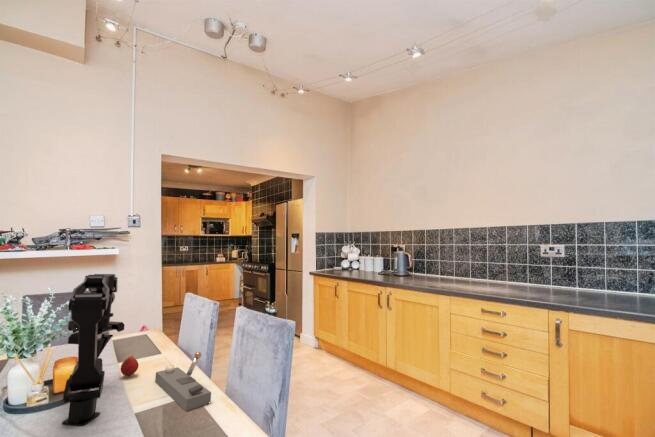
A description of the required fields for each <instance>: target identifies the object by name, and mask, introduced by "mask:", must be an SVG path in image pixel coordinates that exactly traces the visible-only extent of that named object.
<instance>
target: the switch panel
mask: <svg viewBox="0 0 655 437" xmlns="http://www.w3.org/2000/svg"><path fill="white" fill-rule="evenodd" d="M154 382H155V383H156V384H157V385H158V386H159V388H161V389H162V390H163V391H164V392H165V393H166V394H167V395H168V396H169V397H171V399H173V400H174V402H176V404H178V405H179V406H180V407H181V408H182V409H183V410H184V411H185V412H187V411H190V410H194V409H198V408H200V407H199V406H201V407H203V406H202V405H204V404H207V403H209V402H210V403H211V398H212V391H210V390H209V389H207V388H206V387H205V386H204V385H203V384H201V383H199V382H198V381H197V380H196V379H195V378H194V377H192V375H191V376H189V375H187V372H185V371H183V370H182V369H181V368H180V367H178V366H177V367H174V372H172V373H166V372H165V369H164V370H163V369H162V370H161V371H160V370H159V371H156V372H155V380H154ZM199 384H200V385H201V386H202V387H203V390H201V391H199V392H197V393H195V394H193V395H192V394H190V393H189V389H190V388H192V387H195V386H197V385H199ZM207 405H208V404H207ZM204 406H205V405H204Z"/></svg>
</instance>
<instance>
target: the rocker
mask: <svg viewBox="0 0 655 437" xmlns="http://www.w3.org/2000/svg"><path fill="white" fill-rule="evenodd" d="M200 384H201V383H200ZM200 384H199V385H197V386H195V387H192V388H190V389H189V393H190V394H192V395H193V394H195V393H197V392H199V391H201V390H203V387H204V386H203V385H202V384H201V385H202V386H203V387H202V386H201V385H200Z"/></svg>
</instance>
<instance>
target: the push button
mask: <svg viewBox="0 0 655 437" xmlns="http://www.w3.org/2000/svg"><path fill="white" fill-rule="evenodd" d="M174 368H175V365H173V364H169V365H165V369H164V370H165V372H166V373H172V372H174Z"/></svg>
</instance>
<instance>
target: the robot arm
mask: <svg viewBox="0 0 655 437" xmlns="http://www.w3.org/2000/svg"><path fill="white" fill-rule="evenodd" d="M118 281H119V280H118V277H116V274H115V273H94V274H88V275H85V276H84V280H83V281H82V282H81V283H80V284H79V285H77V286H76V287H74V288H73V289H72V292H71V296H70V298H69V302H68V311H69V312H70V316H71V317H70V318H71V320H69V322H68V325H67V329H68V331H70V332H72V333H71V334H70V335H69V336H68V337H67V344H68V345H77V348H78V349H77V350H78V352H77V362H76V364H75V365H74V367H73V370H72V374H70V375H69V377H68V379H67V380H66V382H65V386H64V391H63V394H62V396H63V398H62V401H63V403H64V404H65V403H69V407H68V408H69V409H68V417H67V418H66V419H65V420H63V421H62V422H61V424H62V425H72V426H86V425H87V424H88V423H90V422H91V421H93V420H94V419H95V418H97V417H98V416H100V415H101V412H98V411H96V410H97V402H98V399H101V395H102V393H103V387H104V382H105V370H103V367H104V366H103V365H104V364H103V359H102V358H101V357H100V356H101V354H102V352H103V351H104V349H105V347H106V346H107V344H108V343H109V341H110V340H111V338H112V337H114V334H110V332H111V331H115V330H116V331H117V332H118V333H119V332H122V331H124V330H125V324H124V322H123V321H111V317H114V313H113V312H112V305H113V303H114V302H115V299H116V294H115V293H117V292H118ZM87 290H88V291H89V292H86V291H87ZM76 328H77V329H76ZM92 389H93V390H92ZM95 389H96V390H95ZM83 390H84V391H83ZM85 390H87V391H85ZM77 391H79V392H77Z"/></svg>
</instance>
